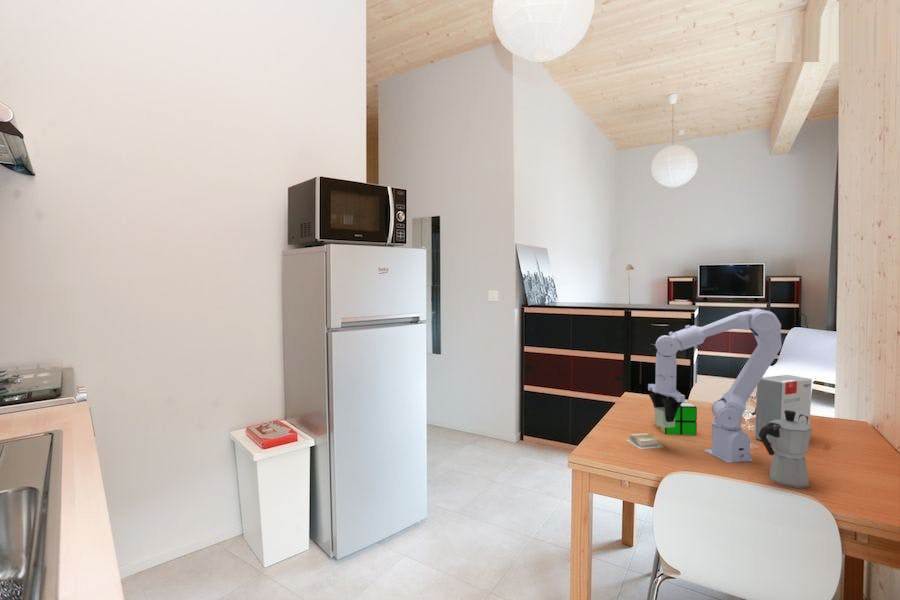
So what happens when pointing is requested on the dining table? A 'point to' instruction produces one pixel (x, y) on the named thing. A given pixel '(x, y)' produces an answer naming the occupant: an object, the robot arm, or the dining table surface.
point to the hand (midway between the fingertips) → (664, 419)
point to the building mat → (643, 447)
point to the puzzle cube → (683, 421)
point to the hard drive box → (782, 400)
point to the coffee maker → (787, 450)
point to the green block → (662, 418)
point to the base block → (644, 440)
